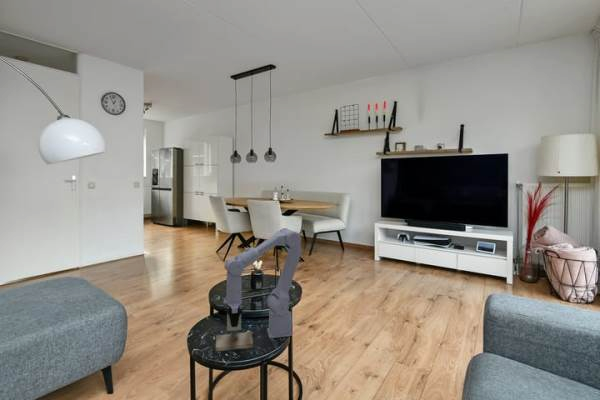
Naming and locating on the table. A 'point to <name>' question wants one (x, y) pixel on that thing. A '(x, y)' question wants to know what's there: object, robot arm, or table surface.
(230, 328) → the grey block
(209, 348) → the table surface
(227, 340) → the stub board
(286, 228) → the robot arm
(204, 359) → the table surface
